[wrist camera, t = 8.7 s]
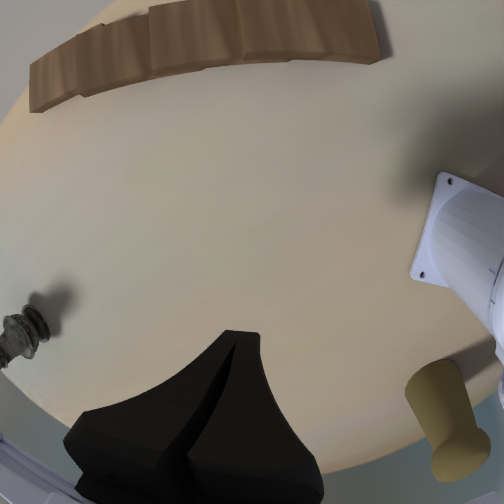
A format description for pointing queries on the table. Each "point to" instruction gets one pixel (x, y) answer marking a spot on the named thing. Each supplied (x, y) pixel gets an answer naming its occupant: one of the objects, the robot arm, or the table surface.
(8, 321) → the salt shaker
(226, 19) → the tile
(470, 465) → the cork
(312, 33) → the tile
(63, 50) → the tile
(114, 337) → the table surface
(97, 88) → the tile
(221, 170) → the table surface
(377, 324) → the table surface
